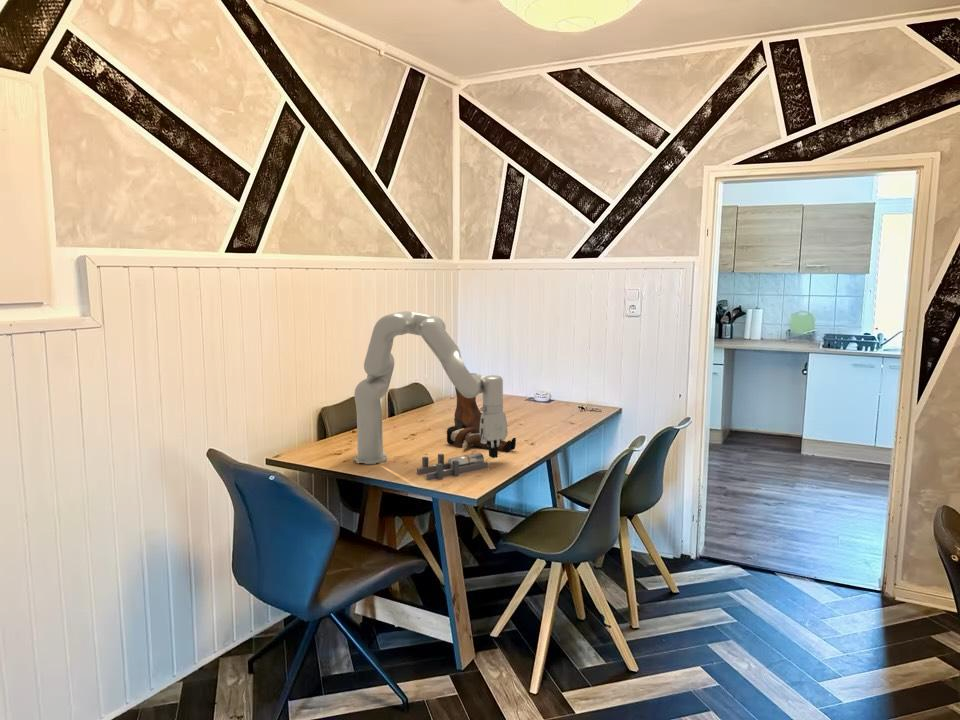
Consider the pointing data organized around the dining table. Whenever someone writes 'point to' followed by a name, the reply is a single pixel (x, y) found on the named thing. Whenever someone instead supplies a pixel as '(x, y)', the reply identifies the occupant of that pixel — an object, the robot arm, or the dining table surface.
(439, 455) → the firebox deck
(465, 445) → the toy
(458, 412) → the boot
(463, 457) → the steel tube
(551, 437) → the dining table surface
